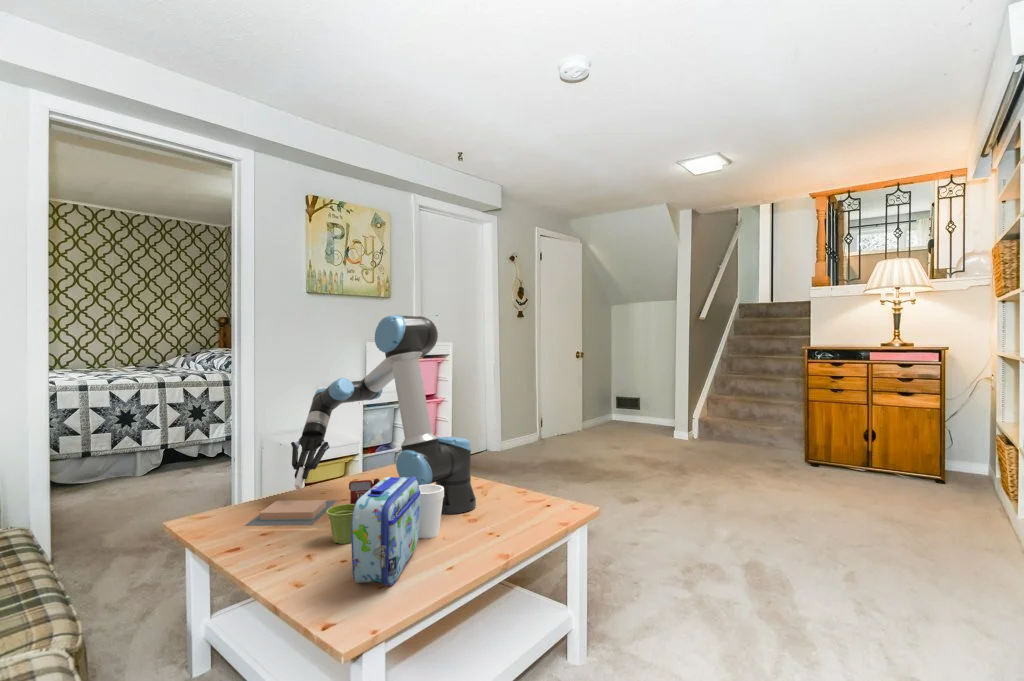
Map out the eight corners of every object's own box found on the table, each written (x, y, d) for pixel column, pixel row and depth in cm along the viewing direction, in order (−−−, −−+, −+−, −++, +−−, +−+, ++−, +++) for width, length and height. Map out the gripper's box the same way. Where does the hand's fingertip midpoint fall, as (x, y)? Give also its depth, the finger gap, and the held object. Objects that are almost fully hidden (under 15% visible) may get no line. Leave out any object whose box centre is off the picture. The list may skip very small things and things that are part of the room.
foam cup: (450, 531, 153) (450, 486, 153) (432, 542, 144) (432, 495, 144) (423, 526, 157) (423, 482, 157) (404, 537, 148) (403, 491, 148)
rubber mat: (278, 502, 180) (278, 500, 180) (337, 502, 180) (337, 500, 180) (244, 527, 156) (244, 525, 156) (312, 527, 156) (312, 525, 156)
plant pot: (329, 549, 140) (329, 516, 140) (324, 537, 148) (324, 506, 148) (365, 543, 144) (365, 511, 144) (358, 531, 152) (358, 502, 152)
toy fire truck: (389, 512, 169) (389, 480, 169) (349, 517, 165) (349, 484, 165) (387, 506, 176) (387, 475, 176) (348, 510, 172) (348, 478, 172)
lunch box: (392, 594, 115) (392, 498, 115) (345, 592, 116) (345, 497, 116) (424, 547, 141) (424, 469, 141) (385, 546, 142) (385, 468, 142)
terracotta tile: (276, 500, 172) (259, 512, 160) (325, 500, 173) (312, 512, 161) (276, 507, 172) (259, 520, 160) (325, 507, 173) (312, 520, 161)
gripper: (336, 433, 190) (320, 493, 173) (300, 433, 189) (280, 493, 173) (331, 420, 184) (314, 481, 168) (294, 421, 184) (273, 481, 167)
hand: (297, 487), depth 170 cm, fingers closed
